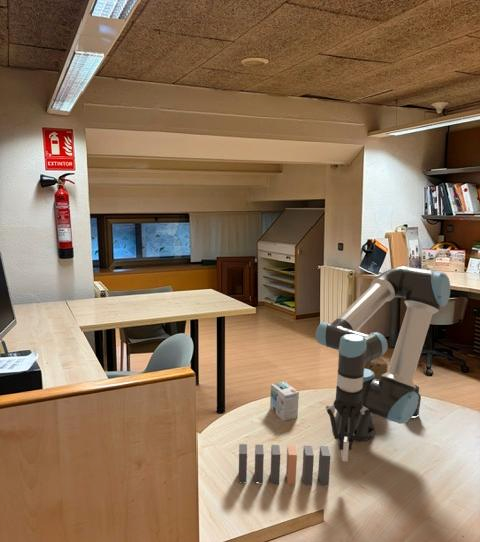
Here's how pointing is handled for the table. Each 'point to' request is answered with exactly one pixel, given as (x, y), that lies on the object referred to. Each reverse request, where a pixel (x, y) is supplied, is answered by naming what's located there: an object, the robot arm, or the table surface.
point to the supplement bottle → (418, 401)
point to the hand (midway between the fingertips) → (344, 458)
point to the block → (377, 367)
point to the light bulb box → (284, 401)
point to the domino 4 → (291, 464)
